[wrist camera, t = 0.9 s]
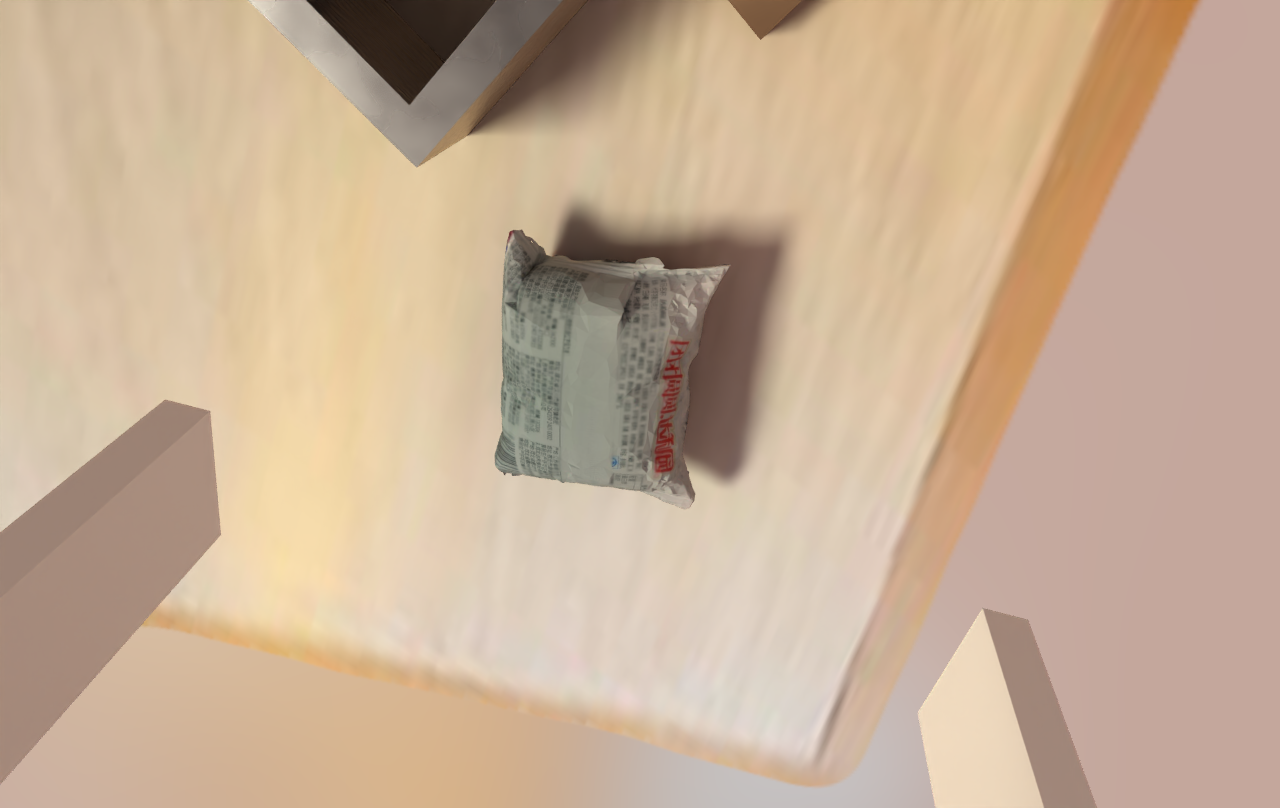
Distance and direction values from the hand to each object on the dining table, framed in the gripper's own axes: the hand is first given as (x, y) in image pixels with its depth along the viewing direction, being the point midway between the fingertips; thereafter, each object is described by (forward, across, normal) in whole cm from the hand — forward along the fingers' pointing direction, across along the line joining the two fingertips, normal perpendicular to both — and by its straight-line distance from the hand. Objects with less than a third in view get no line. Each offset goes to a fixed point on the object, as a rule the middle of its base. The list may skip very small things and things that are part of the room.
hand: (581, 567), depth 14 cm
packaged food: (+21, -1, -7) cm, 22 cm away
